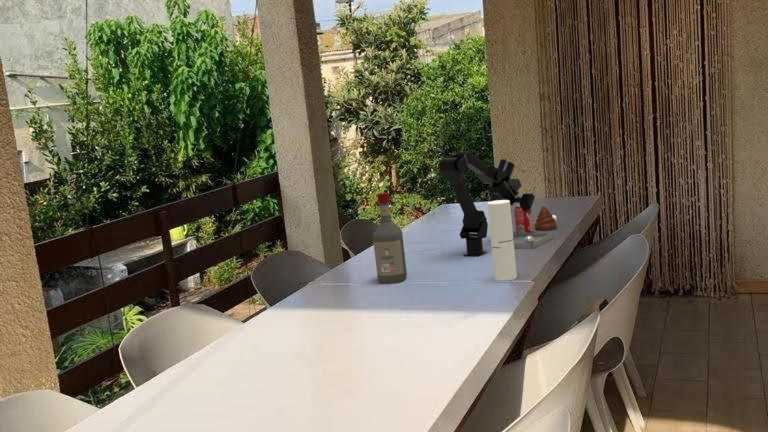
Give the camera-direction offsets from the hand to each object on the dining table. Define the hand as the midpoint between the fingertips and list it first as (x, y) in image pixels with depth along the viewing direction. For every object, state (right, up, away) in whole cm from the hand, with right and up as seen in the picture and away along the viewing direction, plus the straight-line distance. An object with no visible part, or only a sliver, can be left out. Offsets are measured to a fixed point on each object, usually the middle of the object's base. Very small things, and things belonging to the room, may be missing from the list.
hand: (520, 212), depth 338 cm
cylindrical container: (-15, -22, -62) cm, 67 cm away
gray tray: (-1, -12, -13) cm, 17 cm away
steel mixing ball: (0, -12, -20) cm, 24 cm away
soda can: (+2, -9, +3) cm, 10 cm away
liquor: (-51, -23, -47) cm, 74 cm away
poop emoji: (+12, -7, +10) cm, 17 cm away
